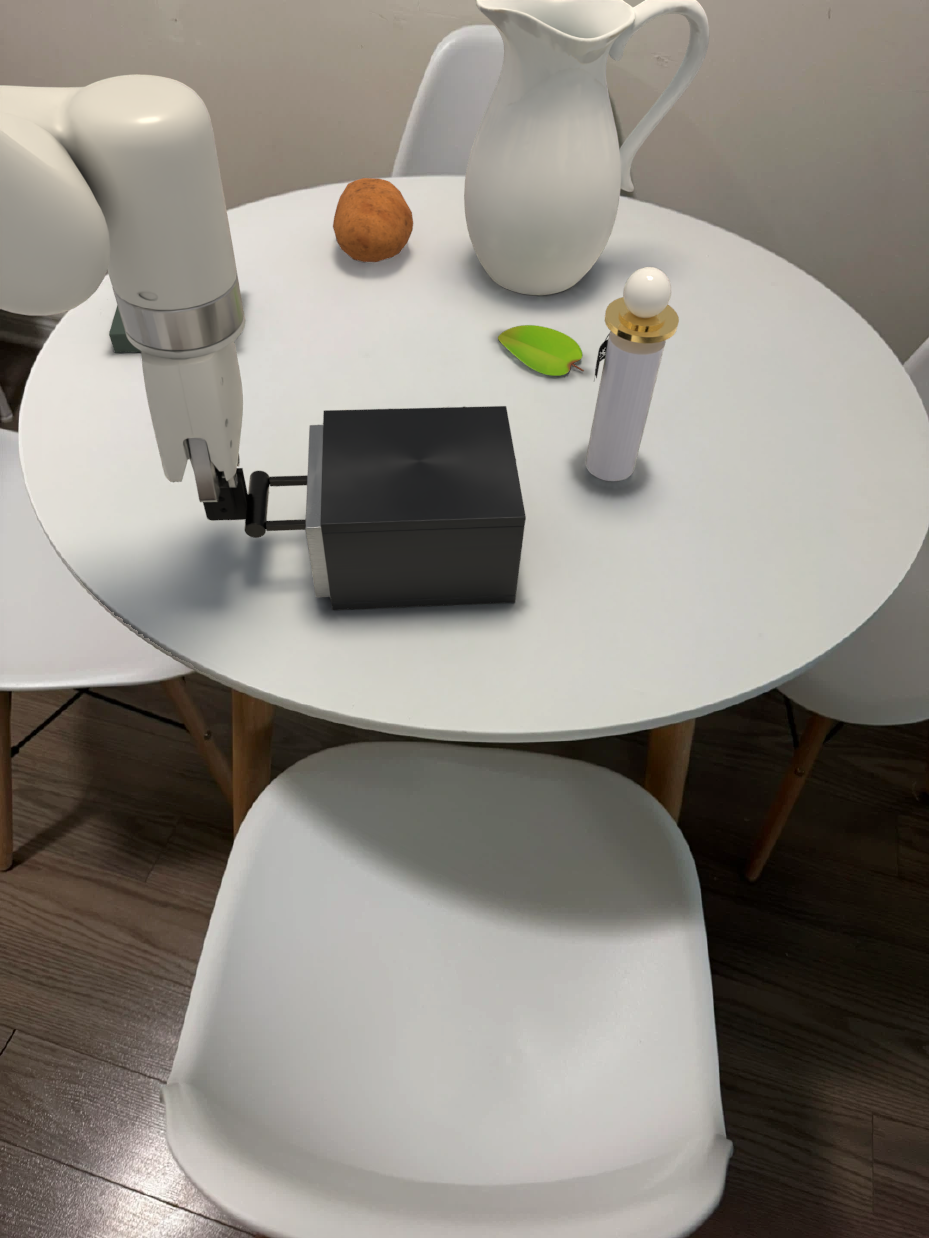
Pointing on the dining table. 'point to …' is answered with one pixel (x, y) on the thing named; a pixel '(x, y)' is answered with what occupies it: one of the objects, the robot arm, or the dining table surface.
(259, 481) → the drawer
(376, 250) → the potato
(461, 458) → the cabinet
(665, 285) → the perfume bottle
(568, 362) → the decorative leaf
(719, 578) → the dining table surface
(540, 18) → the pitcher
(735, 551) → the dining table surface
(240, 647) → the dining table surface
